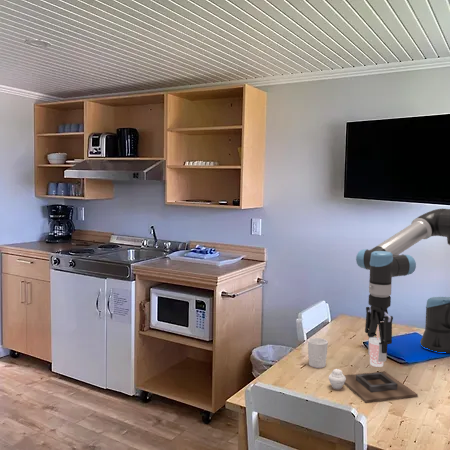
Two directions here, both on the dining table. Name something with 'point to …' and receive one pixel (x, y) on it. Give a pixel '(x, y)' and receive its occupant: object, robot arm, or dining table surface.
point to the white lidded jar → (337, 379)
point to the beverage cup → (375, 351)
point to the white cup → (317, 352)
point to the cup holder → (377, 387)
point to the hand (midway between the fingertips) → (377, 357)
